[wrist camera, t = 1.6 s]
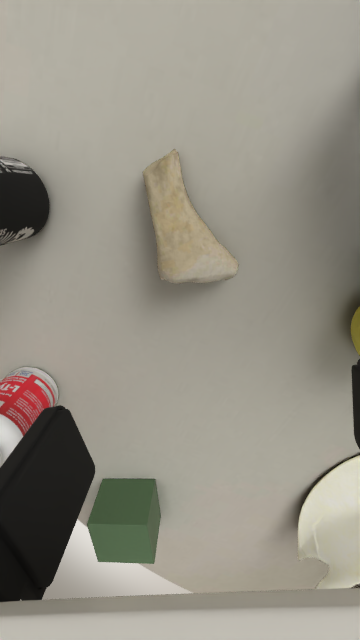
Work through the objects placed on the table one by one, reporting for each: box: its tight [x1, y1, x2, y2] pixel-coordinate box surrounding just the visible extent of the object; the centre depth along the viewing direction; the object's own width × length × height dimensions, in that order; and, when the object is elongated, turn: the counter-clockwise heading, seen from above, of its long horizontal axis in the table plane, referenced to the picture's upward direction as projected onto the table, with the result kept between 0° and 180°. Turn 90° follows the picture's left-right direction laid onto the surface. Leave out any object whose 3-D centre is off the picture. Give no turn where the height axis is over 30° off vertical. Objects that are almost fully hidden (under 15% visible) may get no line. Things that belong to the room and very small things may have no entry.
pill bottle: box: [0, 367, 59, 467], centre depth 30 cm, size 6×6×11 cm
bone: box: [143, 149, 239, 283], centre depth 25 cm, size 11×6×5 cm, turn 32°
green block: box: [87, 479, 161, 564], centre depth 39 cm, size 7×7×6 cm
